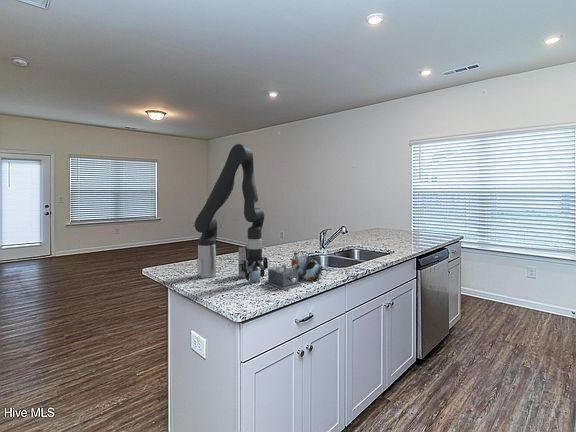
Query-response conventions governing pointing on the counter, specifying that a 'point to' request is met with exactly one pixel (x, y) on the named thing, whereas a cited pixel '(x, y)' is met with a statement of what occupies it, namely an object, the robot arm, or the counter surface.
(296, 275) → the motor
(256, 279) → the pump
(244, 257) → the coffee box
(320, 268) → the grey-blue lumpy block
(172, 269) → the counter surface
